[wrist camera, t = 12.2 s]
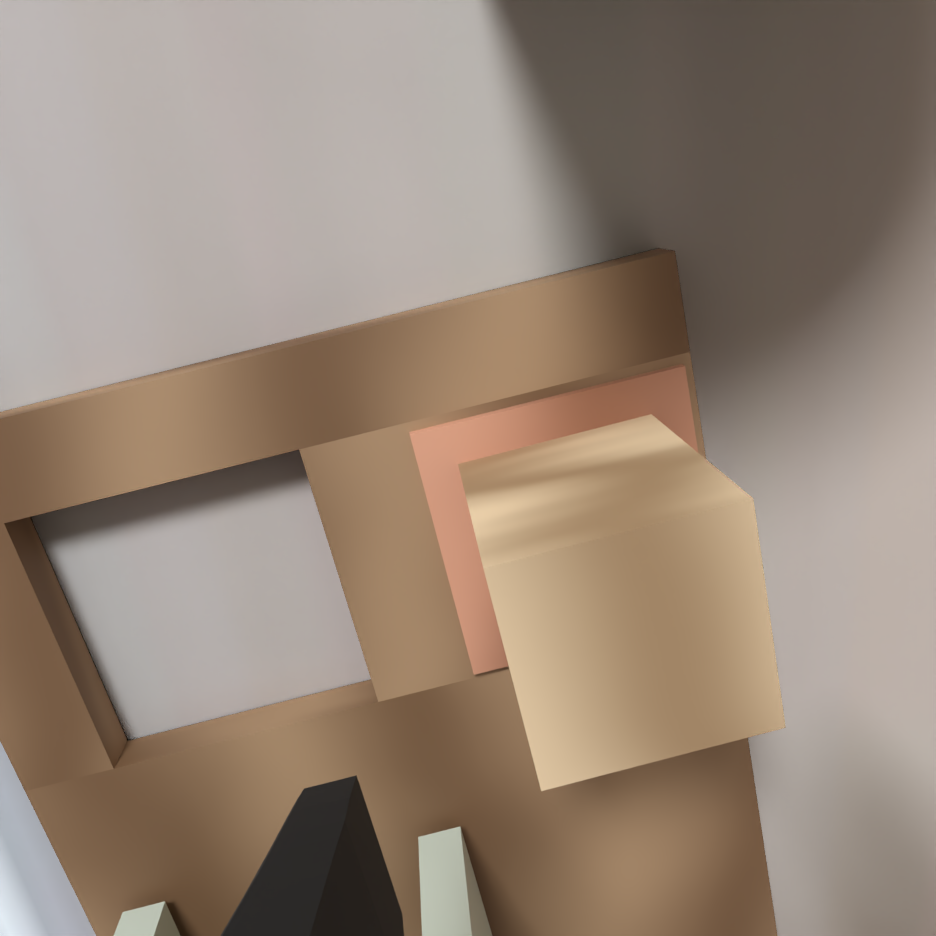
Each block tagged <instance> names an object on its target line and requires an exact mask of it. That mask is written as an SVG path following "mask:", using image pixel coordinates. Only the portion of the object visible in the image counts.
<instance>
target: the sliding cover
mask: <svg viewBox="0 0 936 936" xmlns="http://www.w3.org/2000/svg"><path fill="white" fill-rule="evenodd" d="M418 844H419V870H420V896H421V923H422V936H492V933H491V929H490V926H489V922H488V919H487V916H486V912H485V909H484V905H483V902H482V898H481V895H480V892H479V888H478V885H477V881H476V878H475V875H474V871H473V868H472V864H471V861H470V858H469V854H468V851H467V847H466V844H465V841H464V837H463V834H462V830H461V827H456V828H452V829H448V830H444V831H440V832H436V833H432V834H428V835H424V836H420V837H418ZM114 936H180V933H179V931H178V929H177V927H176V925H175V922H174V920H173V918H172V916H171V913H170V911H169V909H168V907H167V905H166V902H165V901H164V902H160V903H156V904H153V905H149V906H145V907H141V908H137V909H133V910H129V911H125V912H123V913H122V915H121V918H120V920H119V923H118V926H117V928H116V931H115V934H114Z"/></svg>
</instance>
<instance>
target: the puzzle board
mask: <svg viewBox="0 0 936 936" xmlns="http://www.w3.org/2000/svg"><path fill="white" fill-rule="evenodd" d="M650 414H652V415H653V416H654V417H655V418H657V419H658V420H659V421H660V422H661V423H663V424H664V425H665V426H666V427H667V428H669V429H670V430H671V431H672V432H674V433H675V434H676V435H677V436H678V437H680V438H681V439H682V440H683V441H684V442H686V443H687V444H688V445H689V446H690V447H692V448H693V449H694V450H695V451H696V452H698V453H699V454H700V455H701V456H703V457H704V458H705V459H706V455H705V449H704V442H703V435H702V429H701V422H700V415H699V409H698V402H697V395H696V389H695V382H694V375H693V369H692V362H691V355H690V349H689V342H688V335H687V329H686V322H685V315H684V308H683V302H682V295H681V288H680V282H679V275H678V268H677V262H676V255H675V251H672V250H666V249H660V248H658V249H654V250H650V251H646V252H642V253H638V254H634V255H630V256H626V257H622V258H618V259H614V260H610V261H606V262H602V263H598V264H594V265H590V266H586V267H582V268H578V269H574V270H570V271H566V272H562V273H558V274H554V275H550V276H546V277H542V278H538V279H534V280H530V281H525V282H521V283H517V284H513V285H509V286H505V287H501V288H497V289H493V290H489V291H485V292H481V293H477V294H473V295H469V296H465V297H461V298H457V299H453V300H449V301H445V302H441V303H437V304H433V305H429V306H425V307H421V308H417V309H413V310H409V311H405V312H401V313H397V314H393V315H389V316H385V317H381V318H377V319H373V320H369V321H365V322H361V323H357V324H353V325H348V326H344V327H340V328H336V329H332V330H328V331H324V332H320V333H316V334H312V335H308V336H304V337H300V338H296V339H292V340H288V341H284V342H280V343H276V344H272V345H268V346H264V347H260V348H256V349H252V350H248V351H244V352H240V353H236V354H232V355H228V356H224V357H220V358H216V359H212V360H208V361H204V362H200V363H196V364H192V365H188V366H184V367H180V368H175V369H171V370H167V371H163V372H159V373H155V374H151V375H147V376H143V377H139V378H135V379H131V380H127V381H123V382H119V383H115V384H111V385H107V386H103V387H99V388H95V389H91V390H87V391H83V392H79V393H75V394H71V395H67V396H63V397H59V398H55V399H51V400H47V401H43V402H39V403H35V404H31V405H27V406H23V407H19V408H15V409H11V410H7V411H3V412H0V741H1V743H2V745H3V747H4V749H5V751H6V753H7V755H8V757H9V759H10V761H11V764H12V766H13V768H14V770H15V772H16V774H17V776H18V778H19V780H20V782H21V784H22V786H23V788H24V790H25V792H26V794H27V796H28V798H29V800H30V802H31V804H32V806H33V808H34V810H35V812H36V814H37V816H38V818H39V820H40V822H41V824H42V826H43V828H44V830H45V832H46V834H47V836H48V838H49V841H50V843H51V845H52V847H53V849H54V851H55V853H56V855H57V857H58V859H59V861H60V863H61V865H62V867H63V869H64V871H65V873H66V875H67V877H68V879H69V881H70V883H71V885H72V887H73V889H74V891H75V893H76V895H77V897H78V899H79V901H80V903H81V905H82V907H83V909H84V911H85V913H86V916H87V918H88V920H89V922H90V924H91V926H92V928H93V930H94V932H95V934H96V936H114V934H115V931H116V928H117V926H118V923H119V920H120V918H121V915H122V913H123V912H125V911H129V910H133V909H137V908H141V907H145V906H149V905H153V904H156V903H160V902H164V901H165V902H166V905H167V907H168V909H169V911H170V913H171V916H172V918H173V920H174V922H175V925H176V927H177V929H178V931H179V933H180V936H221V934H222V932H223V930H224V929H225V927H226V925H227V924H228V922H229V920H230V919H231V917H232V915H233V913H234V912H235V910H236V908H237V907H238V905H239V903H240V901H241V900H242V898H243V896H244V895H245V893H246V891H247V889H248V888H249V886H250V884H251V882H252V880H253V879H254V877H255V875H256V873H257V871H258V870H259V868H260V866H261V864H262V862H263V861H264V859H265V857H266V855H267V853H268V851H269V850H270V848H271V846H272V844H273V842H274V840H275V839H276V837H277V835H278V833H279V831H280V829H281V828H282V826H283V824H284V822H285V820H286V818H287V816H288V815H289V813H290V811H291V809H292V807H293V806H294V804H295V802H296V800H297V799H298V797H299V796H300V794H301V792H302V791H303V789H304V788H308V787H312V786H316V785H320V784H324V783H328V782H332V781H336V780H340V779H344V778H348V777H352V776H356V775H357V778H358V781H359V784H360V787H361V790H362V793H363V796H364V799H365V802H366V805H367V809H368V812H369V815H370V818H371V821H372V824H373V827H374V830H375V833H376V836H377V839H378V842H379V845H380V848H381V851H382V854H383V857H384V860H385V863H386V866H387V869H388V872H389V875H390V878H391V881H392V884H393V887H394V890H395V893H396V896H397V899H398V902H399V905H400V908H401V911H402V916H403V928H404V936H422V923H421V896H420V870H419V844H418V837H420V836H424V835H428V834H432V833H436V832H440V831H444V830H448V829H452V828H456V827H461V830H462V834H463V837H464V841H465V844H466V847H467V851H468V854H469V858H470V861H471V864H472V868H473V871H474V875H475V878H476V881H477V885H478V888H479V892H480V895H481V898H482V902H483V905H484V909H485V912H486V916H487V919H488V922H489V926H490V929H491V933H492V936H777V930H776V923H775V917H774V910H773V903H772V896H771V890H770V883H769V876H768V870H767V863H766V856H765V850H764V843H763V836H762V830H761V823H760V816H759V810H758V803H757V796H756V790H755V783H754V776H753V770H752V763H751V756H750V749H749V743H748V738H744V739H740V740H736V741H732V742H729V743H725V744H721V745H717V746H713V747H709V748H706V749H702V750H698V751H694V752H690V753H686V754H682V755H679V756H675V757H671V758H667V759H663V760H659V761H656V762H652V763H648V764H644V765H640V766H636V767H633V768H629V769H625V770H621V771H617V772H613V773H610V774H606V775H602V776H598V777H594V778H590V779H586V780H583V781H579V782H575V783H571V784H567V785H563V786H560V787H556V788H552V789H548V790H544V791H541V788H540V784H539V780H538V777H537V773H536V769H535V765H534V761H533V757H532V754H531V750H530V746H529V742H528V738H527V734H526V730H525V727H524V723H523V719H522V715H521V711H520V707H519V704H518V700H517V696H516V692H515V688H514V684H513V681H512V677H511V673H510V669H509V665H508V661H507V657H506V654H505V650H504V646H503V642H502V638H501V634H500V631H499V627H498V623H497V619H496V615H495V611H494V608H493V604H492V600H491V596H490V592H489V588H488V584H487V581H486V577H485V573H484V569H483V565H482V561H481V557H480V553H479V549H478V544H477V540H476V536H475V532H474V528H473V524H472V520H471V516H470V512H469V507H468V503H467V499H466V495H465V491H464V487H463V483H462V479H461V474H460V470H459V466H458V464H460V463H464V462H468V461H472V460H476V459H479V458H483V457H487V456H491V455H495V454H499V453H503V452H507V451H511V450H514V449H518V448H522V447H526V446H530V445H534V444H538V443H542V442H545V441H549V440H553V439H557V438H561V437H565V436H569V435H573V434H576V433H580V432H584V431H588V430H592V429H596V428H600V427H604V426H607V425H611V424H615V423H619V422H623V421H627V420H631V419H635V418H638V417H642V416H646V415H650ZM295 450H299V451H300V454H301V457H302V460H303V464H304V467H305V470H306V473H307V476H308V479H309V483H310V486H311V489H312V492H313V495H314V499H315V502H316V505H317V508H318V511H319V514H320V518H321V521H322V524H323V527H324V530H325V534H326V537H327V540H328V543H329V546H330V549H331V553H332V556H333V559H334V562H335V565H336V569H337V572H338V575H339V578H340V581H341V585H342V588H343V591H344V594H345V597H346V600H347V604H348V607H349V610H350V613H351V616H352V620H353V623H354V626H355V629H356V632H357V635H358V639H359V642H360V645H361V648H362V651H363V655H364V658H365V661H366V664H367V667H368V670H369V674H370V677H371V680H367V681H363V682H359V683H355V684H351V685H347V686H343V687H339V688H335V689H331V690H328V691H324V692H320V693H316V694H312V695H308V696H304V697H300V698H296V699H292V700H288V701H284V702H280V703H276V704H272V705H268V706H264V707H260V708H256V709H252V710H248V711H244V712H240V713H236V714H232V715H228V716H224V717H220V718H216V719H213V720H209V721H205V722H201V723H197V724H193V725H189V726H185V727H181V728H177V729H173V730H169V731H165V732H161V733H157V734H153V735H149V736H145V737H141V738H137V739H133V740H129V741H127V739H126V736H125V734H124V732H123V730H122V727H121V725H120V723H119V720H118V718H117V716H116V713H115V711H114V709H113V707H112V704H111V702H110V700H109V697H108V695H107V693H106V690H105V688H104V686H103V684H102V681H101V679H100V677H99V674H98V672H97V670H96V667H95V665H94V663H93V661H92V658H91V656H90V654H89V651H88V649H87V647H86V644H85V642H84V640H83V638H82V635H81V633H80V631H79V628H78V626H77V624H76V622H75V619H74V617H73V615H72V612H71V610H70V608H69V605H68V603H67V601H66V599H65V596H64V594H63V592H62V589H61V587H60V585H59V582H58V580H57V578H56V576H55V573H54V571H53V569H52V566H51V564H50V562H49V559H48V557H47V555H46V553H45V550H44V548H43V546H42V543H41V541H40V539H39V536H38V534H37V532H36V530H35V527H34V525H33V523H32V520H31V518H30V517H31V516H35V515H39V514H43V513H47V512H51V511H55V510H59V509H63V508H67V507H71V506H75V505H79V504H83V503H87V502H91V501H95V500H99V499H103V498H107V497H111V496H115V495H119V494H123V493H127V492H131V491H135V490H139V489H143V488H147V487H151V486H155V485H159V484H163V483H167V482H171V481H175V480H179V479H183V478H187V477H191V476H195V475H199V474H203V473H207V472H211V471H215V470H219V469H223V468H227V467H231V466H235V465H239V464H243V463H247V462H251V461H255V460H259V459H263V458H267V457H271V456H275V455H279V454H283V453H287V452H291V451H295Z"/></svg>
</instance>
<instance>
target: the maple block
mask: <svg viewBox="0 0 936 936" xmlns="http://www.w3.org/2000/svg"><path fill="white" fill-rule="evenodd" d="M458 466H459V470H460V474H461V479H462V483H463V487H464V491H465V495H466V499H467V503H468V507H469V512H470V516H471V520H472V524H473V528H474V532H475V536H476V540H477V544H478V549H479V553H480V557H481V561H482V565H483V569H484V573H485V577H486V581H487V584H488V588H489V592H490V596H491V600H492V604H493V608H494V611H495V615H496V619H497V623H498V627H499V631H500V634H501V638H502V642H503V646H504V650H505V654H506V657H507V661H508V665H509V669H510V673H511V677H512V681H513V684H514V688H515V692H516V696H517V700H518V704H519V707H520V711H521V715H522V719H523V723H524V727H525V730H526V734H527V738H528V742H529V746H530V750H531V754H532V757H533V761H534V765H535V769H536V773H537V777H538V780H539V784H540V788H541V791H544V790H548V789H552V788H556V787H560V786H563V785H567V784H571V783H575V782H579V781H583V780H586V779H590V778H594V777H598V776H602V775H606V774H610V773H613V772H617V771H621V770H625V769H629V768H633V767H636V766H640V765H644V764H648V763H652V762H656V761H659V760H663V759H667V758H671V757H675V756H679V755H682V754H686V753H690V752H694V751H698V750H702V749H706V748H709V747H713V746H717V745H721V744H725V743H729V742H732V741H736V740H740V739H744V738H748V737H752V736H755V735H759V734H763V733H767V732H771V731H775V730H779V729H782V728H785V720H784V713H783V706H782V699H781V692H780V685H779V678H778V671H777V664H776V657H775V649H774V642H773V635H772V628H771V621H770V614H769V607H768V600H767V593H766V586H765V578H764V571H763V564H762V557H761V550H760V543H759V536H758V529H757V522H756V514H755V507H754V500H753V498H752V497H751V496H750V495H748V494H747V493H746V492H745V491H744V490H742V489H741V488H740V487H739V486H738V485H736V484H735V483H734V482H733V481H731V480H730V479H729V478H728V477H727V476H725V475H724V474H723V473H722V472H721V471H719V470H718V469H717V468H716V467H715V466H713V465H712V464H711V463H710V462H709V461H707V460H706V459H705V458H704V457H703V456H701V455H700V454H699V453H698V452H696V451H695V450H694V449H693V448H692V447H690V446H689V445H688V444H687V443H686V442H684V441H683V440H682V439H681V438H680V437H678V436H677V435H676V434H675V433H674V432H672V431H671V430H670V429H669V428H667V427H666V426H665V425H664V424H663V423H661V422H660V421H659V420H658V419H657V418H655V417H654V416H653V415H652V414H650V415H646V416H642V417H638V418H635V419H631V420H627V421H623V422H619V423H615V424H611V425H607V426H604V427H600V428H596V429H592V430H588V431H584V432H580V433H576V434H573V435H569V436H565V437H561V438H557V439H553V440H549V441H545V442H542V443H538V444H534V445H530V446H526V447H522V448H518V449H514V450H511V451H507V452H503V453H499V454H495V455H491V456H487V457H483V458H479V459H476V460H472V461H468V462H464V463H460V464H458Z"/></svg>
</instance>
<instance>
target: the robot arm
mask: <svg viewBox="0 0 936 936" xmlns="http://www.w3.org/2000/svg"><path fill="white" fill-rule="evenodd" d="M221 936H404V928H403V916H402V911H401V908H400V905H399V902H398V899H397V896H396V893H395V890H394V887H393V884H392V881H391V878H390V875H389V872H388V869H387V866H386V863H385V860H384V857H383V854H382V851H381V848H380V845H379V842H378V839H377V836H376V833H375V830H374V827H373V824H372V821H371V818H370V815H369V812H368V809H367V805H366V802H365V799H364V796H363V793H362V790H361V787H360V784H359V781H358V778H357V775H356V776H352V777H348V778H344V779H340V780H336V781H332V782H328V783H324V784H320V785H316V786H312V787H308V788H304V789H303V791H302V792H301V794H300V796H299V797H298V799H297V800H296V802H295V804H294V806H293V807H292V809H291V811H290V813H289V815H288V816H287V818H286V820H285V822H284V824H283V826H282V828H281V829H280V831H279V833H278V835H277V837H276V839H275V840H274V842H273V844H272V846H271V848H270V850H269V851H268V853H267V855H266V857H265V859H264V861H263V862H262V864H261V866H260V868H259V870H258V871H257V873H256V875H255V877H254V879H253V880H252V882H251V884H250V886H249V888H248V889H247V891H246V893H245V895H244V896H243V898H242V900H241V901H240V903H239V905H238V907H237V908H236V910H235V912H234V913H233V915H232V917H231V919H230V920H229V922H228V924H227V925H226V927H225V929H224V930H223V932H222V934H221Z"/></svg>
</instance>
